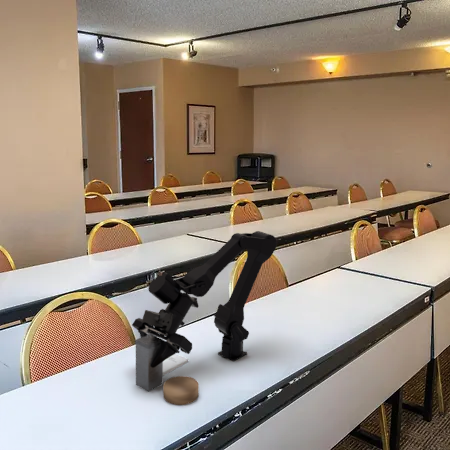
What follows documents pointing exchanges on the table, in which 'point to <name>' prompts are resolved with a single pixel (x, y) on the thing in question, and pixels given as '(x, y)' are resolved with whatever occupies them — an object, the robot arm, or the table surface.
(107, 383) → the table surface
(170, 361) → the external hard drive
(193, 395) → the stand
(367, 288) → the table surface
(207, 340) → the table surface
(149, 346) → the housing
